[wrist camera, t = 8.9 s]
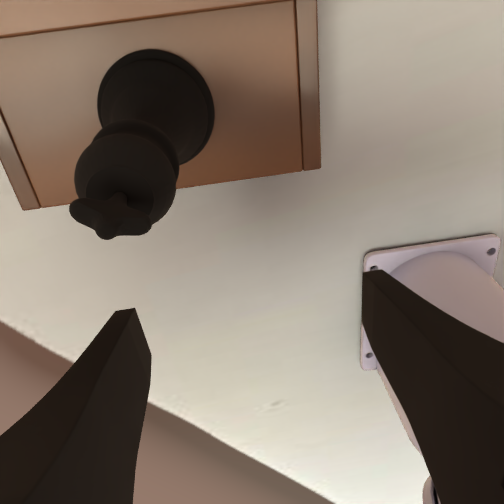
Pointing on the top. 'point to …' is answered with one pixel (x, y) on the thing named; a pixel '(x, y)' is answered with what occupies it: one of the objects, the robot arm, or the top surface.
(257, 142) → the step rack
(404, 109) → the top surface
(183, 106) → the chess piece
